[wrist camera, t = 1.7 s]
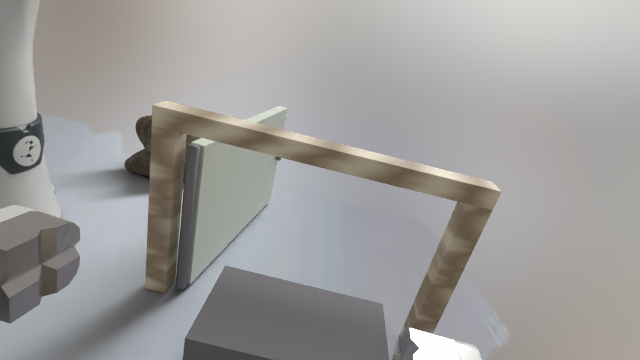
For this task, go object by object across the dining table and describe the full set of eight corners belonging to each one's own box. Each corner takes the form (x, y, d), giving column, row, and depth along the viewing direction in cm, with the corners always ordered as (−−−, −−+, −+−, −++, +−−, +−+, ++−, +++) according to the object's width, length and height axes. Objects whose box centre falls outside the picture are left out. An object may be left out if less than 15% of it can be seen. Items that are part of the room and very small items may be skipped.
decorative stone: (206, 167, 61) (123, 119, 57) (178, 211, 65) (99, 169, 61) (227, 136, 75) (162, 96, 71) (203, 174, 79) (140, 137, 75)
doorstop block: (177, 414, 30) (185, 338, 26) (216, 329, 38) (226, 263, 35) (360, 458, 30) (392, 388, 26) (358, 364, 38) (382, 302, 35)
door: (188, 293, 41) (203, 151, 34) (167, 285, 41) (177, 143, 34) (272, 201, 66) (291, 109, 59) (259, 197, 66) (275, 105, 59)
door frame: (145, 288, 41) (152, 104, 32) (156, 275, 43) (165, 100, 34) (421, 356, 41) (501, 191, 33) (418, 339, 43) (491, 181, 35)
